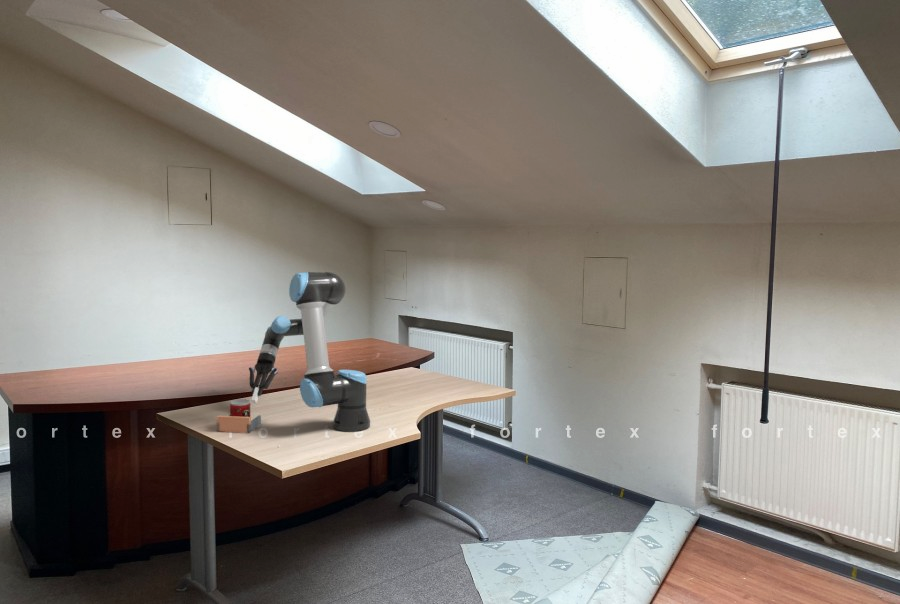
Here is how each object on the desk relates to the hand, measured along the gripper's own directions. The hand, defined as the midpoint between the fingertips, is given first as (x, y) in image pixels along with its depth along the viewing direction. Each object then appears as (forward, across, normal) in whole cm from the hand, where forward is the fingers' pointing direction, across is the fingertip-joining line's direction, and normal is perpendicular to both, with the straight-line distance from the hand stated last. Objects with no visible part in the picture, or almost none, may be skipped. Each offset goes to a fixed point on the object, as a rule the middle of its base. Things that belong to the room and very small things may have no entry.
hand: (254, 401), depth 264 cm
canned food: (+17, -1, +7) cm, 18 cm away
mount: (+16, 0, +6) cm, 17 cm away
